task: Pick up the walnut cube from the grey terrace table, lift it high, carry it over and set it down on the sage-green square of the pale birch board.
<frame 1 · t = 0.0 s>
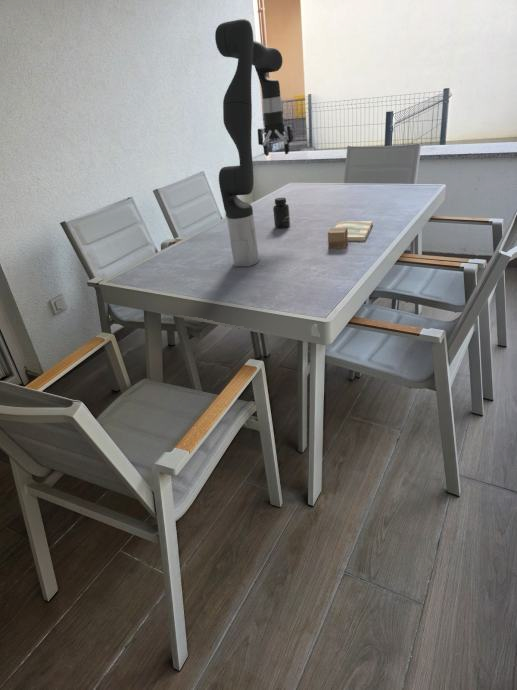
hand: (277, 154, 182), 29 cm above the table, fingers open, 8 cm apart
supplement bottle: (282, 226, 196), on the table
birch board: (351, 232, 176), on the table
walnut block: (338, 245, 165), on the table
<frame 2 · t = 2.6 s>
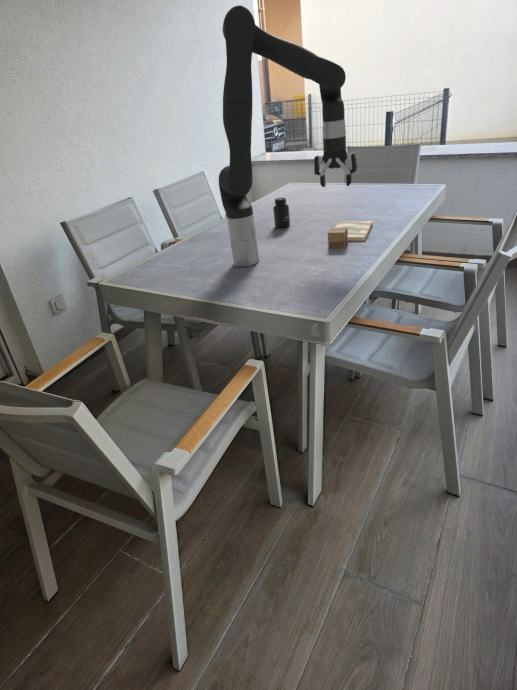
hand: (336, 186, 154), 21 cm above the table, fingers open, 8 cm apart
nothing on the table moved.
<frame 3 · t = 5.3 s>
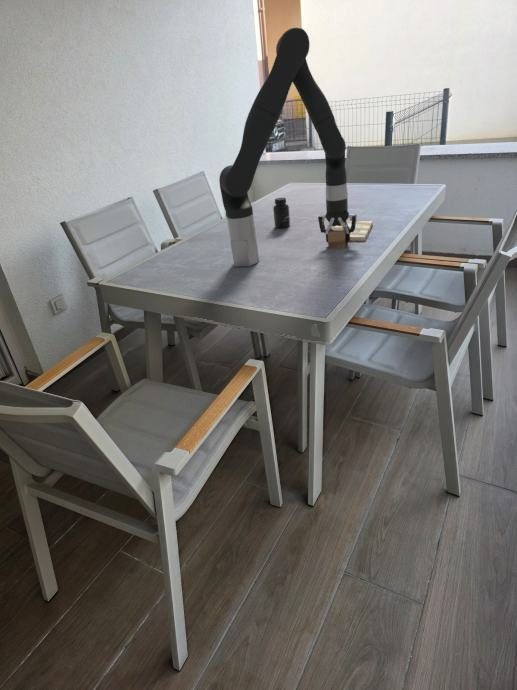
hand: (338, 242, 165), 1 cm above the table, fingers closed on walnut block, 6 cm apart
walnut block: (338, 245, 165), on the table, touching gripper
everything else where it was.
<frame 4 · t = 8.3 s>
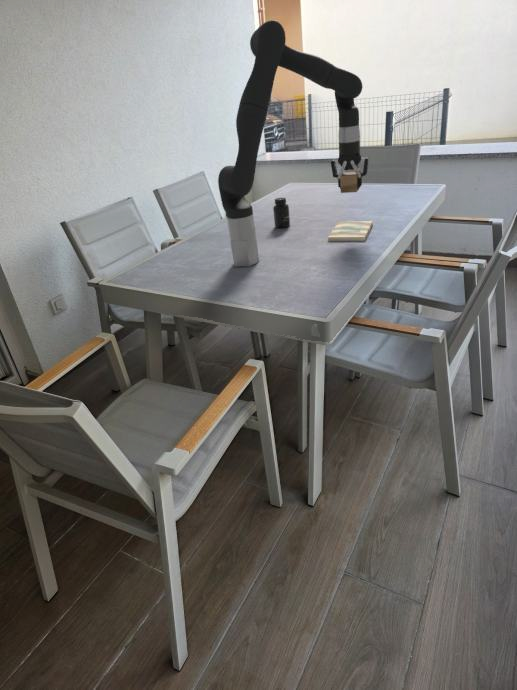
hand: (350, 187, 167), 17 cm above the table, fingers closed on walnut block, 6 cm apart
walnut block: (350, 190, 168), point 16 cm above the table, touching gripper
everything else where it was.
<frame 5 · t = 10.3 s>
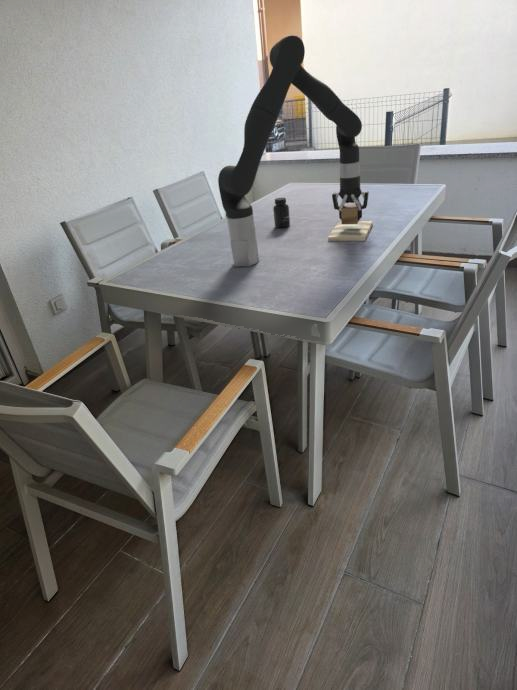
hand: (350, 219, 174), 5 cm above the table, fingers closed on walnut block, 6 cm apart
walnut block: (350, 221, 174), point 4 cm above the table, touching gripper
everything else where it was.
when the fingers open (4 cm above the table, at t = 11.6 s): walnut block drops 1 cm, resting on birch board.
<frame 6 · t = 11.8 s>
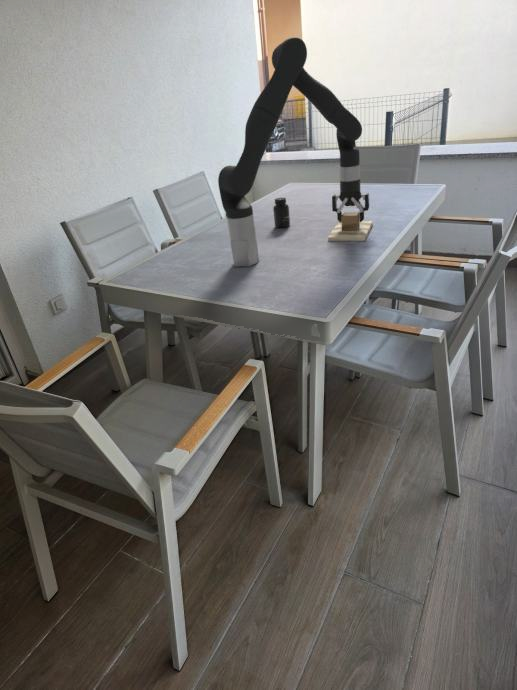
hand: (350, 221, 174), 4 cm above the table, fingers open, 7 cm apart
walnut block: (350, 228, 175), point 2 cm above the table, touching birch board
everything else where it was.
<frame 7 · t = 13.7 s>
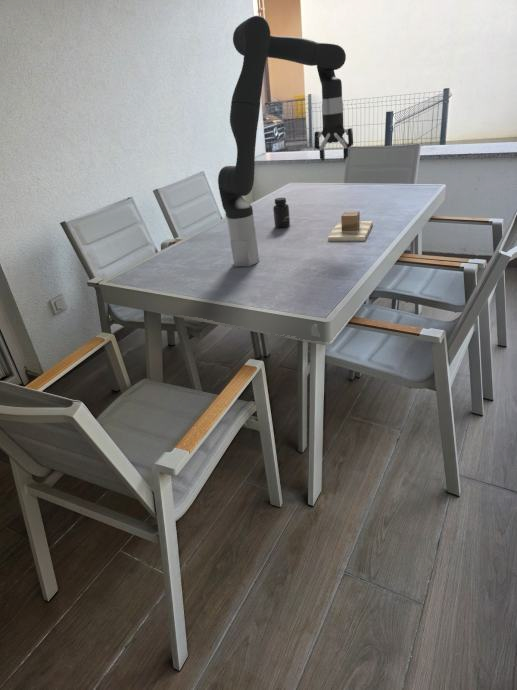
hand: (334, 159, 168), 27 cm above the table, fingers open, 8 cm apart
nothing on the table moved.
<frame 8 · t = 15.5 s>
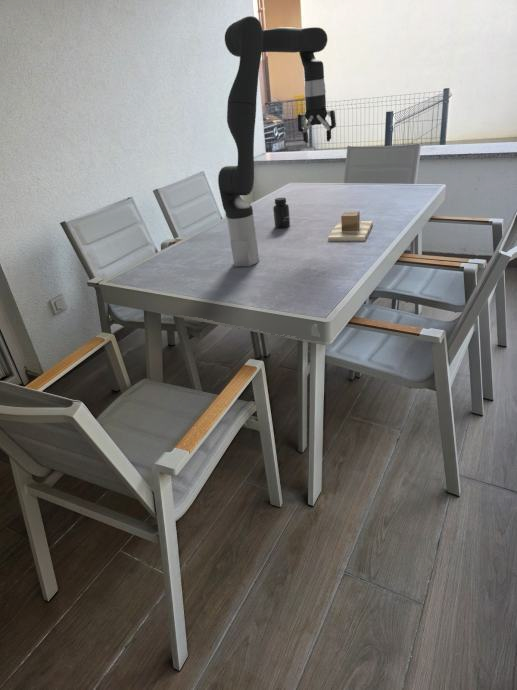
hand: (317, 142, 171), 33 cm above the table, fingers open, 8 cm apart
nothing on the table moved.
at the end: walnut block inside the target area on the birch board (0.1 cm from its centre), point 1.6 cm above the birch board's base; walnut block tilted 0°; the gripper is holding nothing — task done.
